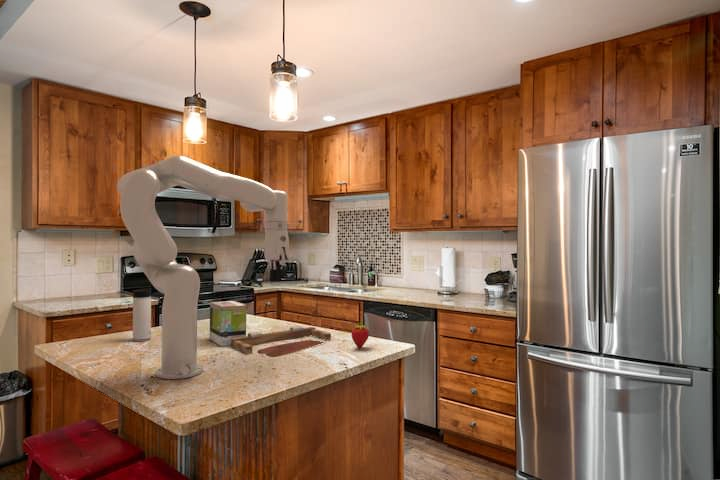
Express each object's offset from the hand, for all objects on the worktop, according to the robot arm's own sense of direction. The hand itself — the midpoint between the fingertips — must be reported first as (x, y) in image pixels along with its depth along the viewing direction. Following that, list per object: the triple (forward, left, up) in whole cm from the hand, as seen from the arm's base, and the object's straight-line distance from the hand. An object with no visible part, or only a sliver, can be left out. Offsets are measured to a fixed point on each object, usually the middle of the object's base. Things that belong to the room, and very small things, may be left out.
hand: (275, 280), depth 150 cm
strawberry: (-12, -28, -25) cm, 39 cm away
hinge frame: (+12, -10, -25) cm, 29 cm away
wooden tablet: (+4, -10, -26) cm, 28 cm away
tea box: (+28, +5, -25) cm, 38 cm away
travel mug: (+50, +30, -25) cm, 64 cm away
